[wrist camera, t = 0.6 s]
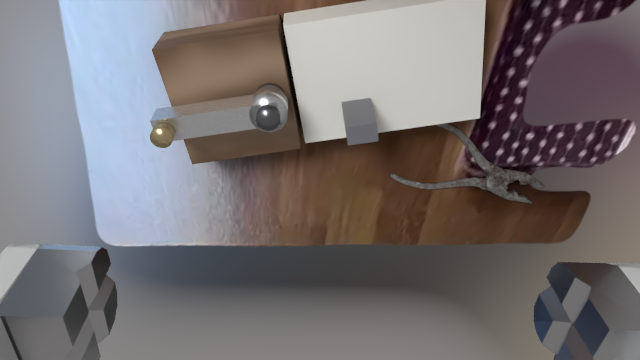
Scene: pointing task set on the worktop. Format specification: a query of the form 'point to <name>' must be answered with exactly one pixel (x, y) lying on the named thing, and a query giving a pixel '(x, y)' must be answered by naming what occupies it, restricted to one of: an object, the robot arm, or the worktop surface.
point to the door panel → (385, 66)
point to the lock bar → (220, 117)
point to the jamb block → (229, 80)
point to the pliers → (492, 182)
